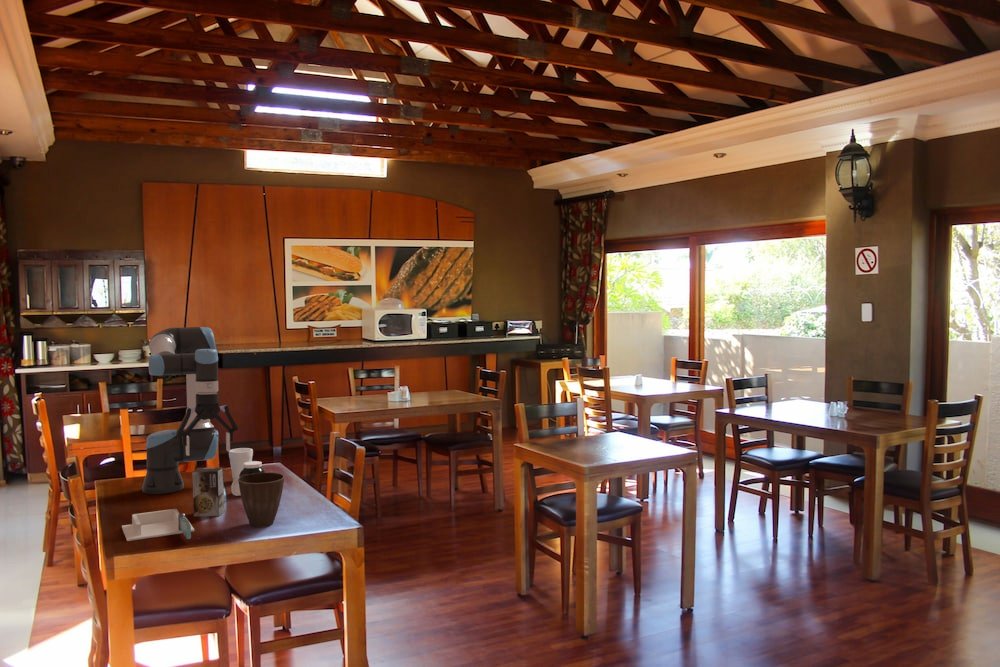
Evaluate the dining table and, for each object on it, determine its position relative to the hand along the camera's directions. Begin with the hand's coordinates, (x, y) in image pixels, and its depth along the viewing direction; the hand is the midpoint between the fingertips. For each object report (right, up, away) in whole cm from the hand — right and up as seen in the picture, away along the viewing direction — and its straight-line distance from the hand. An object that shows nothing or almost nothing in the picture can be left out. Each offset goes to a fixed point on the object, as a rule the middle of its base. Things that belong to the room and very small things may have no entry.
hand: (208, 452), depth 271 cm
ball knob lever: (+2, -22, -25) cm, 34 cm away
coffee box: (0, -22, +1) cm, 22 cm away
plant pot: (+22, -23, -11) cm, 34 cm away
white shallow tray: (-10, -23, -17) cm, 30 cm away
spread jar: (+5, -21, +30) cm, 37 cm away
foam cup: (-5, -20, +50) cm, 54 cm away
